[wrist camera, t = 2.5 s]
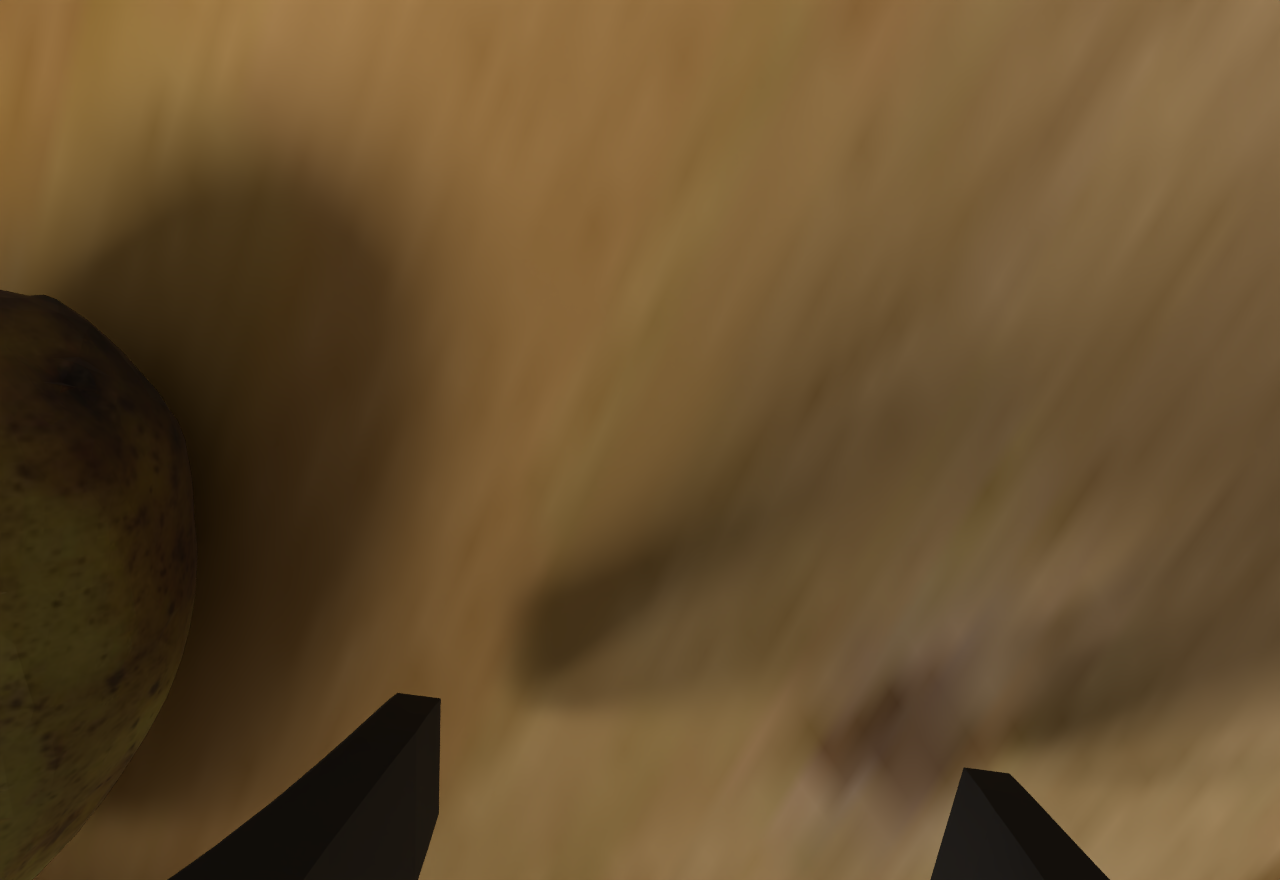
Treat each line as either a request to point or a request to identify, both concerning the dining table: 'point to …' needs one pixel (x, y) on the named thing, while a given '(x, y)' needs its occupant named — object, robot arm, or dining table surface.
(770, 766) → the dining table surface
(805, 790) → the dining table surface
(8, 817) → the potato
